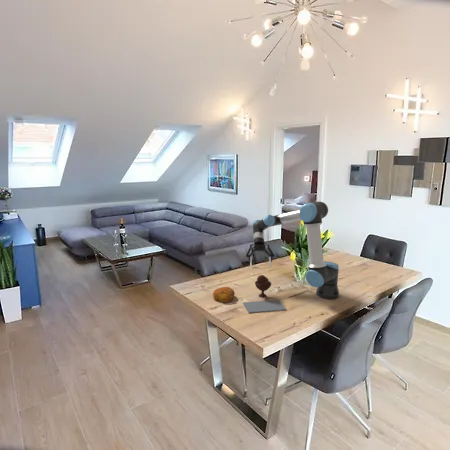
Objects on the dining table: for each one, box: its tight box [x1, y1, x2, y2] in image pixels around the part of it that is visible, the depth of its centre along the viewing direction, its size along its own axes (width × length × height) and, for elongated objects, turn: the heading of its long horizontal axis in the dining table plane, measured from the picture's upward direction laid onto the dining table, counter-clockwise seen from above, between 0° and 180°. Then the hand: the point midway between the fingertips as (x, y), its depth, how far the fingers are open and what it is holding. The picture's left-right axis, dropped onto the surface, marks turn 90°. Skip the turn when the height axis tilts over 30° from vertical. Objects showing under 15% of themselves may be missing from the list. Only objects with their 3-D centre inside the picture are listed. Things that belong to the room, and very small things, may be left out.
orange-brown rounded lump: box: [212, 286, 236, 303], centre depth 223 cm, size 14×16×8 cm
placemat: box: [242, 299, 287, 314], centre depth 211 cm, size 24×14×1 cm, turn 101°
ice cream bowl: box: [254, 274, 272, 299], centre depth 226 cm, size 11×11×15 cm
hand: (260, 265), depth 234 cm, fingers open, 13 cm apart
